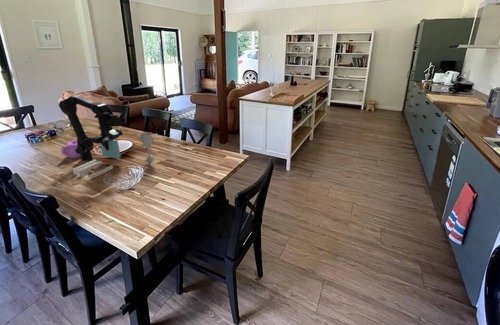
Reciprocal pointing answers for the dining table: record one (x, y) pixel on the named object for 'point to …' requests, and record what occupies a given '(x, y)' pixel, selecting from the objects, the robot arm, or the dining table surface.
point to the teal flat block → (111, 149)
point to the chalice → (147, 143)
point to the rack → (87, 167)
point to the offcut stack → (96, 169)
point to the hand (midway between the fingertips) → (110, 149)
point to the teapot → (71, 150)
